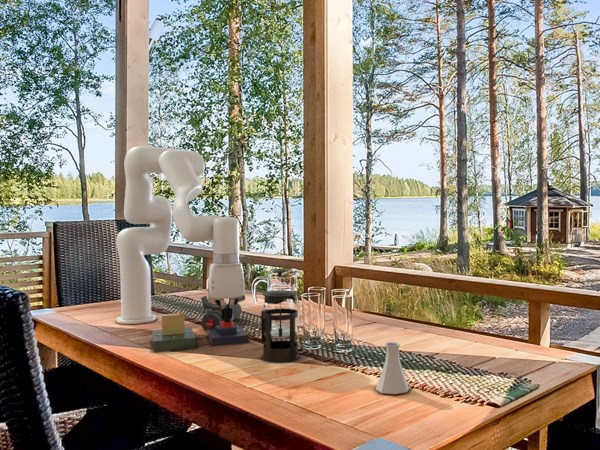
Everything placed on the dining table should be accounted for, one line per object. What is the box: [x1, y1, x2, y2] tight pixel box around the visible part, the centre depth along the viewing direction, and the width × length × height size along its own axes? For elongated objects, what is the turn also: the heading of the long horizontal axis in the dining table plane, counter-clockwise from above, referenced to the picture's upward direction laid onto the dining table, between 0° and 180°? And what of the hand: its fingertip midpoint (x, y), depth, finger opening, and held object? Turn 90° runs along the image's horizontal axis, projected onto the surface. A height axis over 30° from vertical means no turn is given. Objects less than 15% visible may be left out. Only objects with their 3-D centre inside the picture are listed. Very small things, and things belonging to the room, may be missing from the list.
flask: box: [375, 341, 410, 395], centre depth 123 cm, size 7×7×10 cm
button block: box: [206, 323, 249, 347], centre depth 167 cm, size 12×10×4 cm
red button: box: [221, 320, 234, 328], centre depth 167 cm, size 4×4×2 cm
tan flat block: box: [161, 312, 186, 335], centre depth 161 cm, size 6×2×6 cm, turn 111°
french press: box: [260, 268, 300, 363], centre depth 148 cm, size 12×9×23 cm
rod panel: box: [151, 326, 197, 353], centre depth 161 cm, size 14×11×3 cm
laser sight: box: [200, 295, 242, 332], centre depth 185 cm, size 10×22×10 cm, turn 174°
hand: (226, 321), depth 167 cm, fingers closed
